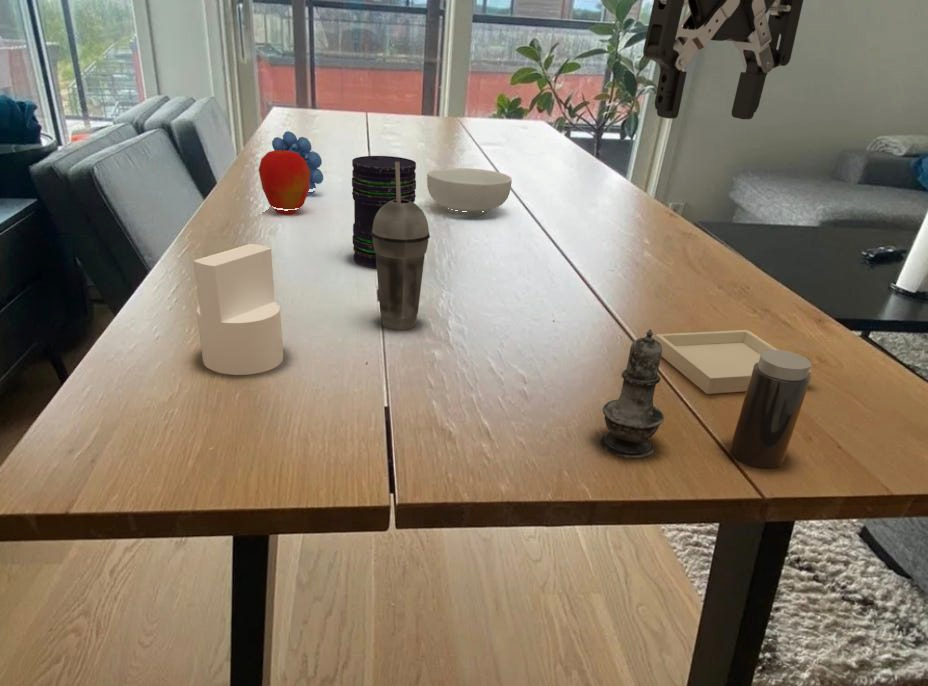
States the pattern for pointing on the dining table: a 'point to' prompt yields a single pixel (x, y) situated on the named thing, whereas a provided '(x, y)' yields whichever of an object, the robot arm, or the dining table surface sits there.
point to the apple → (284, 180)
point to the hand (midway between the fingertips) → (704, 117)
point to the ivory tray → (714, 358)
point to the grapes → (303, 149)
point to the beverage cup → (399, 259)
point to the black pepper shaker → (770, 408)
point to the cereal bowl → (468, 189)
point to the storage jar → (376, 197)
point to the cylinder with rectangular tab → (238, 311)
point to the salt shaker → (635, 403)
